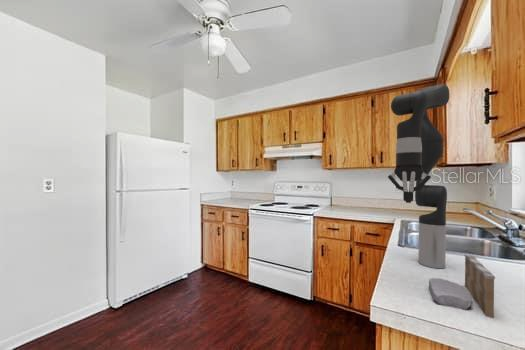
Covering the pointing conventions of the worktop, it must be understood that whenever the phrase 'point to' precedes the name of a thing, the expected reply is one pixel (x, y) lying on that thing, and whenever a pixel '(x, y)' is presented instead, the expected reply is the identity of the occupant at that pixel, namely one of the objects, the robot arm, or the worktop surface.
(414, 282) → the worktop surface
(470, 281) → the walnut wall board
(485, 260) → the worktop surface
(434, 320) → the worktop surface
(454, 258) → the worktop surface
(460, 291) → the stone block
